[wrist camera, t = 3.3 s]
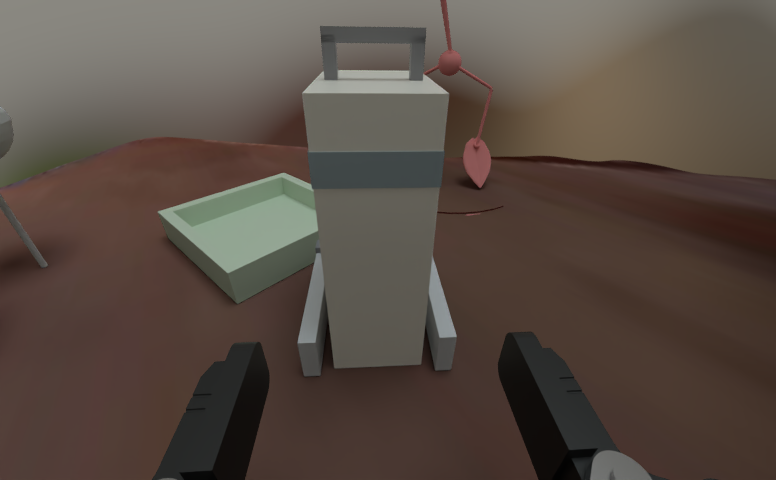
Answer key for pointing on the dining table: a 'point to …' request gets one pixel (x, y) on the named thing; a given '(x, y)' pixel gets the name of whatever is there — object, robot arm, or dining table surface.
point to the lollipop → (3, 138)
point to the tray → (248, 233)
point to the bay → (317, 316)
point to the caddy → (375, 196)
